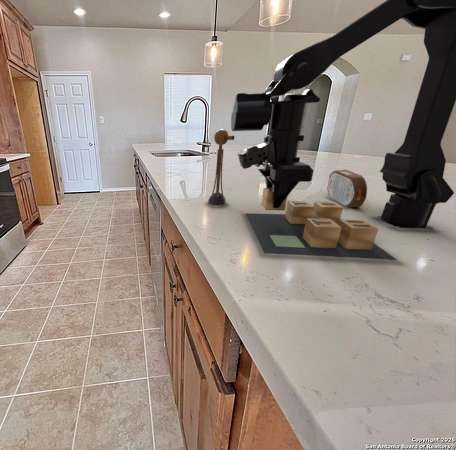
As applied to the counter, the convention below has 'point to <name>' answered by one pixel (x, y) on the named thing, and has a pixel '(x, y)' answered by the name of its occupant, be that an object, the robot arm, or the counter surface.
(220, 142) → the wooden tabletop sculpture
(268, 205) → the s tile
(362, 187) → the tin
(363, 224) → the front word
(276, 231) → the letter mat
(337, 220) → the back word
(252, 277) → the counter surface
